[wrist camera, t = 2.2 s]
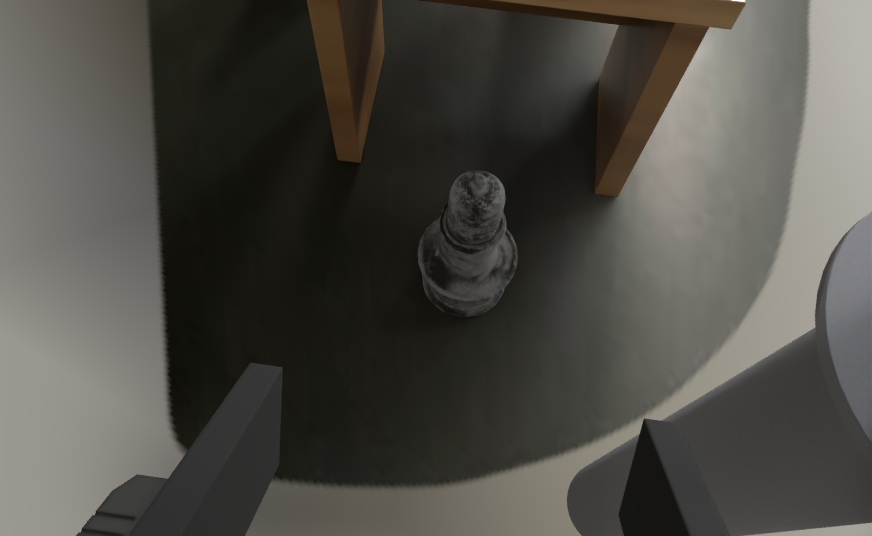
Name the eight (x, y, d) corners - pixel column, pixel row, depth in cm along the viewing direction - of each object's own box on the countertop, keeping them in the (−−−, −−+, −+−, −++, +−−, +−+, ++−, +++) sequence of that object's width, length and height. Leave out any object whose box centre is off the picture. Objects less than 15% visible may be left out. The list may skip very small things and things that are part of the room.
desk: (632, 199, 45) (746, 3, 29) (322, 158, 45) (274, -54, 30) (634, 82, 49) (735, -143, 33) (350, 47, 50) (320, -190, 34)
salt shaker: (521, 253, 43) (557, 145, 32) (494, 334, 40) (523, 248, 30) (435, 225, 43) (441, 110, 33) (404, 304, 41) (400, 209, 30)
